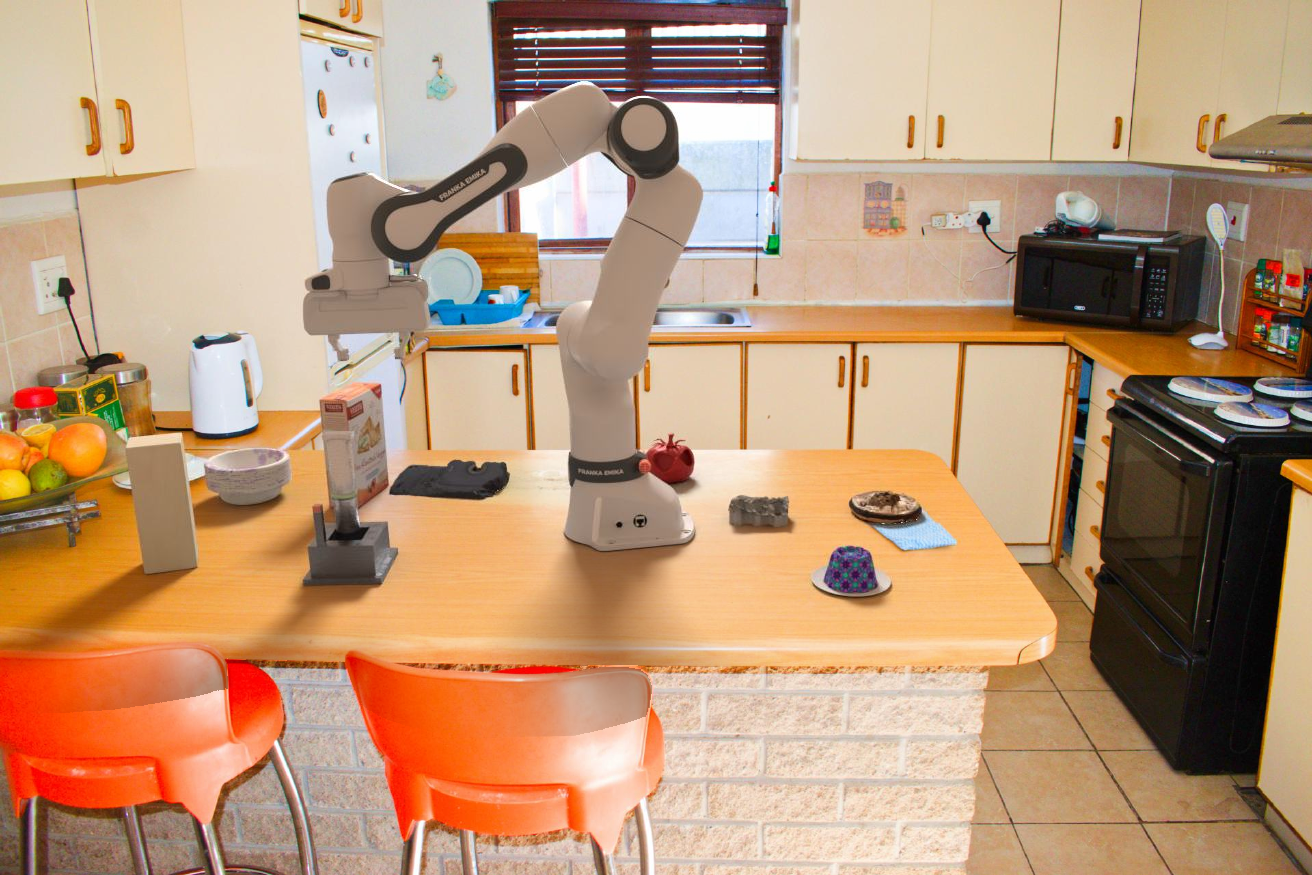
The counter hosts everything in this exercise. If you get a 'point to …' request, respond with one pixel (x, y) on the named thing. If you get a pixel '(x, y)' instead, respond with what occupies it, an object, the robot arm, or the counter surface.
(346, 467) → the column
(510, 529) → the counter surface
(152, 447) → the upright wooden block
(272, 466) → the paper bowls
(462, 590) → the counter surface
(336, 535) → the housing
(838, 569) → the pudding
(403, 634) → the counter surface
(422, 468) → the folded black cloth
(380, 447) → the cracker box
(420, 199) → the robot arm
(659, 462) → the pomegranate
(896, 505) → the chocolate cream pie
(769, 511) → the egg carton
